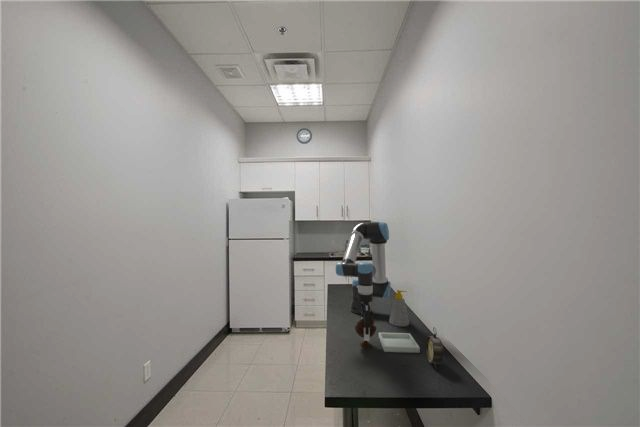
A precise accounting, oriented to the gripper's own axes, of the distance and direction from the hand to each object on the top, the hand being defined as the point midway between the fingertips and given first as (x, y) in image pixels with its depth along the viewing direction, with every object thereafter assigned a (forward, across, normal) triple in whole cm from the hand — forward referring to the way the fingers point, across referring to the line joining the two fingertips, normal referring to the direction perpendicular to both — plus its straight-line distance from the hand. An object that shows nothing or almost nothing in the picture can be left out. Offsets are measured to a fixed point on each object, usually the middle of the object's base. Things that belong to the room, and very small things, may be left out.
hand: (365, 334), depth 138 cm
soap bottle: (+5, -33, +25) cm, 42 cm away
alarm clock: (+6, +17, +29) cm, 34 cm away
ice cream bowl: (+6, 0, 0) cm, 6 cm away
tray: (+5, -2, +17) cm, 18 cm away
